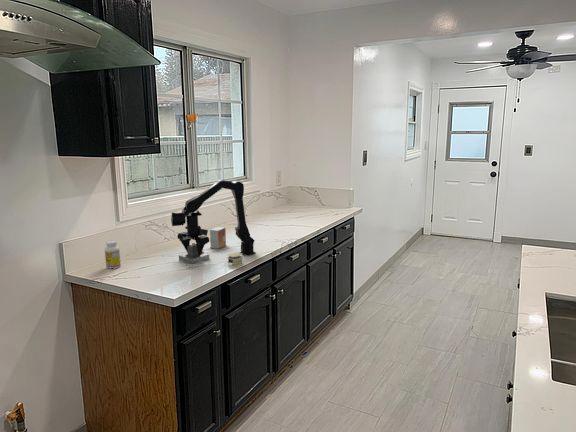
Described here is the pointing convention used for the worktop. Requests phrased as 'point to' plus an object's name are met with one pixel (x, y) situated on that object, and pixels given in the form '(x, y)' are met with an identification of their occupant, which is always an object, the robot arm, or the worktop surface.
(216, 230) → the small box
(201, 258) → the socket plate
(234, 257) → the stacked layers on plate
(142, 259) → the worktop surface
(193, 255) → the plug
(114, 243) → the supplement bottle
